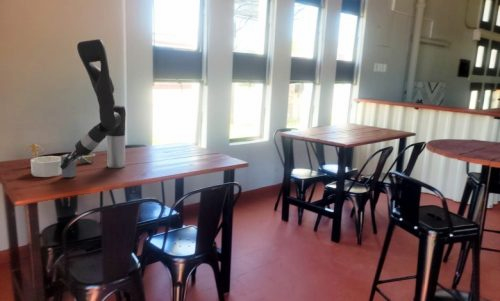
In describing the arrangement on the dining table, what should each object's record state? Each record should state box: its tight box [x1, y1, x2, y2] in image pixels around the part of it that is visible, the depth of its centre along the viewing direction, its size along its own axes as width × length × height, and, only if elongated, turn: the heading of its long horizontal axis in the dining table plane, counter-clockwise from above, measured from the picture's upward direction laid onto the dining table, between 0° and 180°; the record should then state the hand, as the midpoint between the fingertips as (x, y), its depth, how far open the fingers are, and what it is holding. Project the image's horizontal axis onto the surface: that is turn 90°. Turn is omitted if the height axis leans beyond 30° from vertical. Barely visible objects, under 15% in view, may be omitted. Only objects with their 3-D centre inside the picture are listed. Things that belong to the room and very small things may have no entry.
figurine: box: [25, 142, 44, 159], centre depth 199 cm, size 8×6×12 cm
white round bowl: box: [30, 155, 62, 178], centre depth 188 cm, size 14×14×7 cm
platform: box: [77, 151, 96, 165], centre depth 211 cm, size 12×18×7 cm, turn 133°
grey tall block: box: [60, 153, 77, 178], centre depth 183 cm, size 5×5×10 cm
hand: (64, 166), depth 183 cm, fingers closed on grey tall block, 4 cm apart
